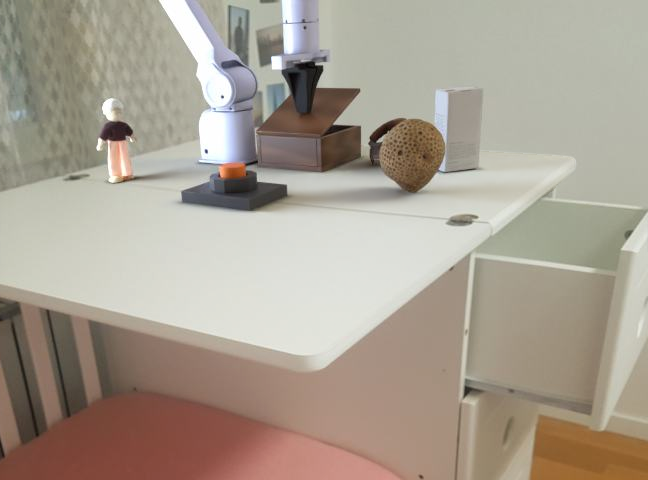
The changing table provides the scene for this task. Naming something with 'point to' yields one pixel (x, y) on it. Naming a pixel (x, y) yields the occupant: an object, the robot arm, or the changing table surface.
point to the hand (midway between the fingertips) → (303, 112)
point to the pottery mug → (378, 134)
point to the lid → (309, 114)
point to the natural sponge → (412, 153)
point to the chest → (310, 149)
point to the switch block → (235, 192)
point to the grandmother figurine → (116, 142)
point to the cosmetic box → (459, 126)
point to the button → (232, 170)
